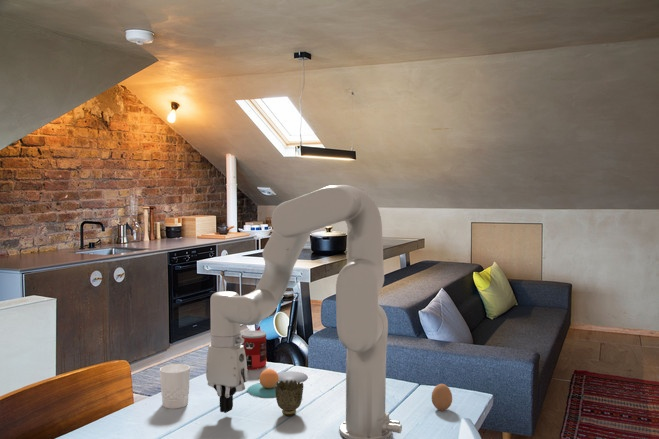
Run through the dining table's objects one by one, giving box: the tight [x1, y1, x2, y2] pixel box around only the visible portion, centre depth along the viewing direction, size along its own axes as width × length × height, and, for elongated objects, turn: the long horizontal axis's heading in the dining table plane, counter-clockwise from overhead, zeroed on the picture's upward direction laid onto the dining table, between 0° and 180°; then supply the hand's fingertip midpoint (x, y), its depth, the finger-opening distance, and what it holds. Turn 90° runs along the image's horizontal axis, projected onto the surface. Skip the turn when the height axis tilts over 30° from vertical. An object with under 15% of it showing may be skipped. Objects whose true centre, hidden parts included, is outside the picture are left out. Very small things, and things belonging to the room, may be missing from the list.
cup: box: [275, 380, 305, 417], centre depth 157 cm, size 8×7×8 cm
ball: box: [258, 368, 279, 389], centre depth 177 cm, size 6×6×6 cm
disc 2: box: [277, 370, 308, 384], centre depth 187 cm, size 11×11×1 cm
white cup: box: [159, 363, 191, 410], centre depth 164 cm, size 8×8×10 cm
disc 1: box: [247, 382, 279, 399], centre depth 176 cm, size 13×13×1 cm
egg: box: [431, 383, 453, 412], centre depth 161 cm, size 5×5×7 cm
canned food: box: [241, 330, 267, 371], centre depth 198 cm, size 8×8×11 cm
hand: (226, 410), depth 156 cm, fingers closed
